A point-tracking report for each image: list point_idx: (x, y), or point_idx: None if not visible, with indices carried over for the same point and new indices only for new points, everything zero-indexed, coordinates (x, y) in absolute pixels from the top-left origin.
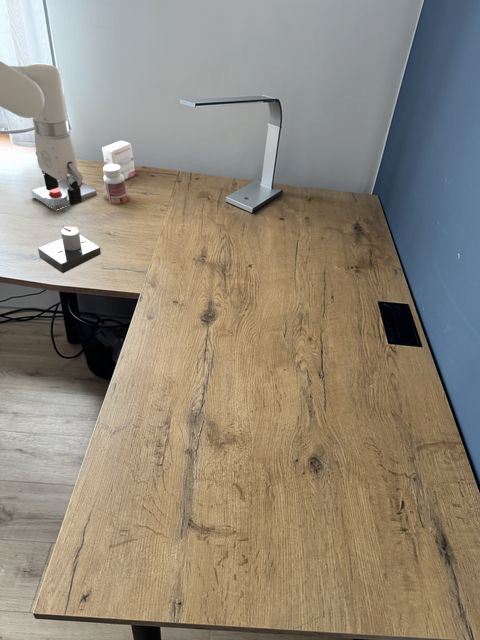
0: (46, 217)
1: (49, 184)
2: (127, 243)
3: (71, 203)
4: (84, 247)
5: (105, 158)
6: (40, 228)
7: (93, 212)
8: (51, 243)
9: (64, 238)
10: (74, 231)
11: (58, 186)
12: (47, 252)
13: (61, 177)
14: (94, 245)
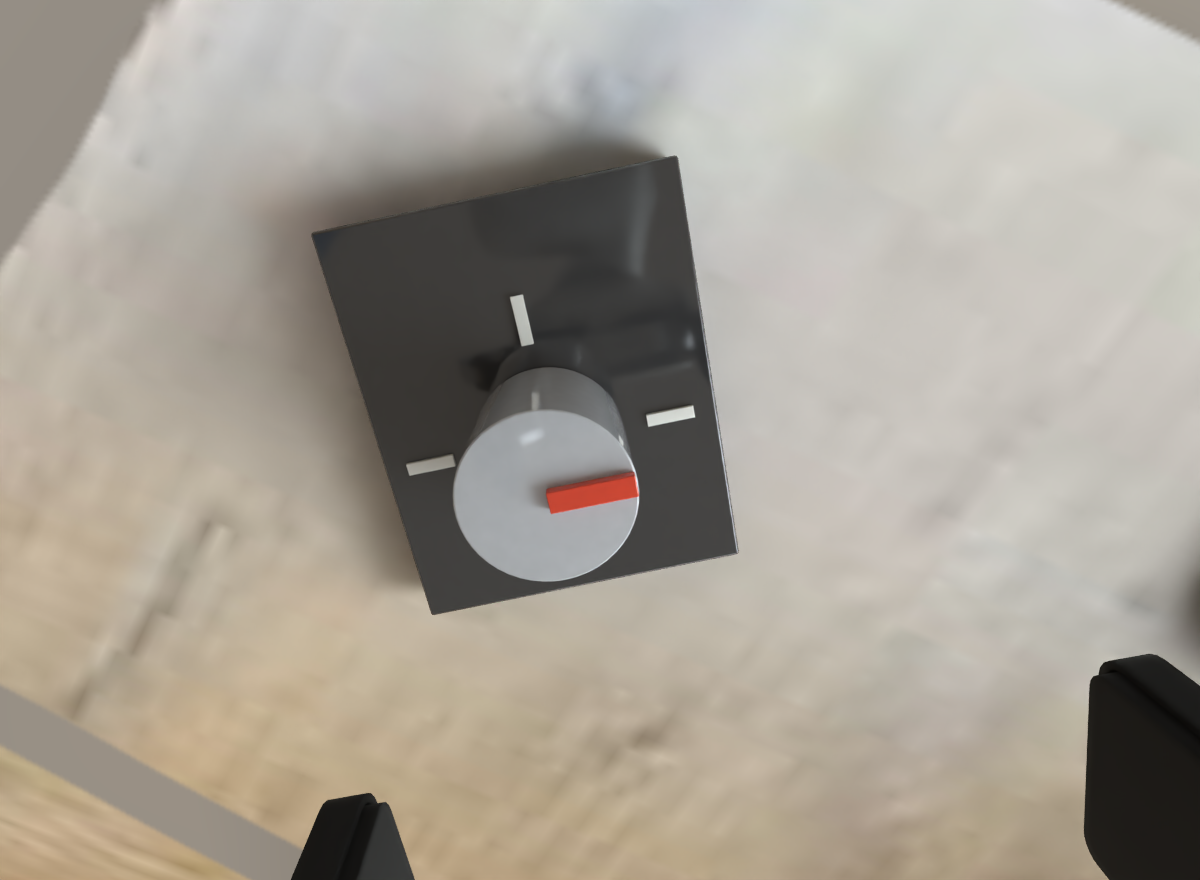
0: (1153, 450)
1: (1182, 794)
2: (470, 784)
3: (317, 831)
4: None
5: None
6: (1030, 338)
7: (988, 762)
8: (686, 301)
9: (510, 403)
10: (516, 534)
11: (1095, 860)
12: (557, 204)
13: None
14: (476, 591)
